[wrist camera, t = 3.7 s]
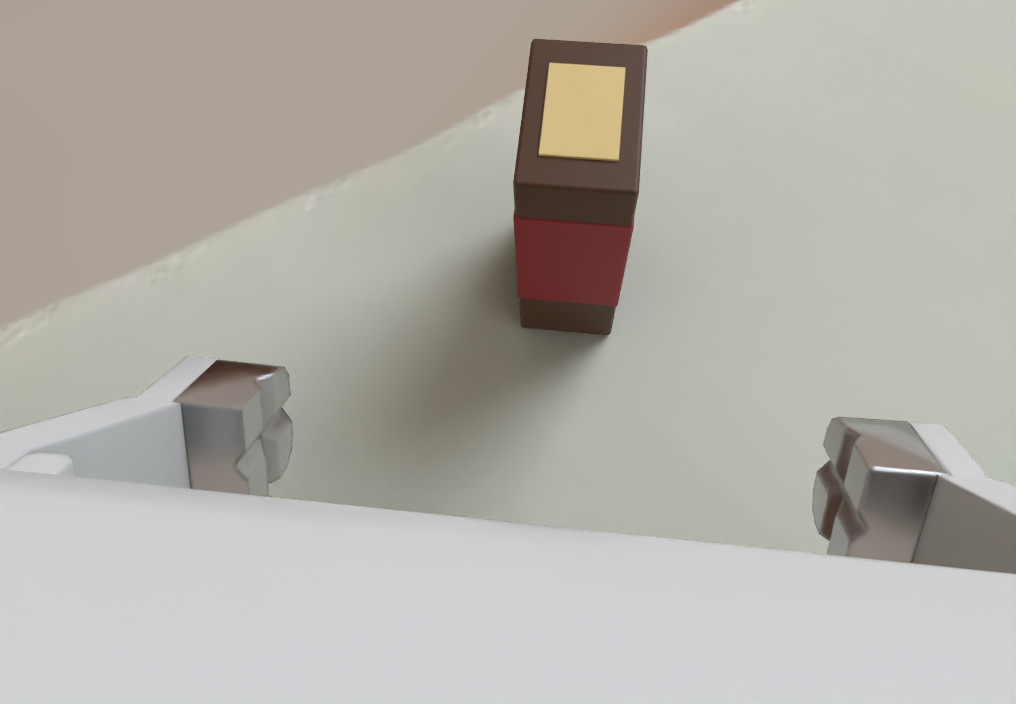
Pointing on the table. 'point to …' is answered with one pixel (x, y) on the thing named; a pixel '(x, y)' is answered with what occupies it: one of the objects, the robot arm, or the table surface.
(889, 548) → the robot arm
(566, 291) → the chocolate bar
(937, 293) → the table surface
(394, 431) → the table surface
